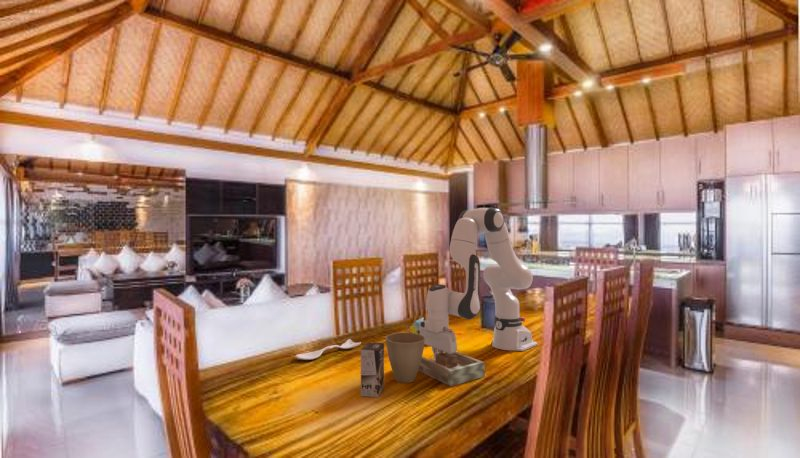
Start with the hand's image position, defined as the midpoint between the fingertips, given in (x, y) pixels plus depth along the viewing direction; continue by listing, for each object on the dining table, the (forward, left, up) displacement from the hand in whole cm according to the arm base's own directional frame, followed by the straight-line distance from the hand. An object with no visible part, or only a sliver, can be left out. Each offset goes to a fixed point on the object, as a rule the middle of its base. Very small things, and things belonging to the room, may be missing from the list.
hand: (437, 359), depth 169 cm
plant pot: (+18, +3, -4) cm, 19 cm away
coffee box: (+34, +6, -4) cm, 35 cm away
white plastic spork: (+29, -44, -4) cm, 53 cm away
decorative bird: (-26, -38, -4) cm, 46 cm away
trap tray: (0, +7, -4) cm, 8 cm away
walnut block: (0, +5, -1) cm, 5 cm away
